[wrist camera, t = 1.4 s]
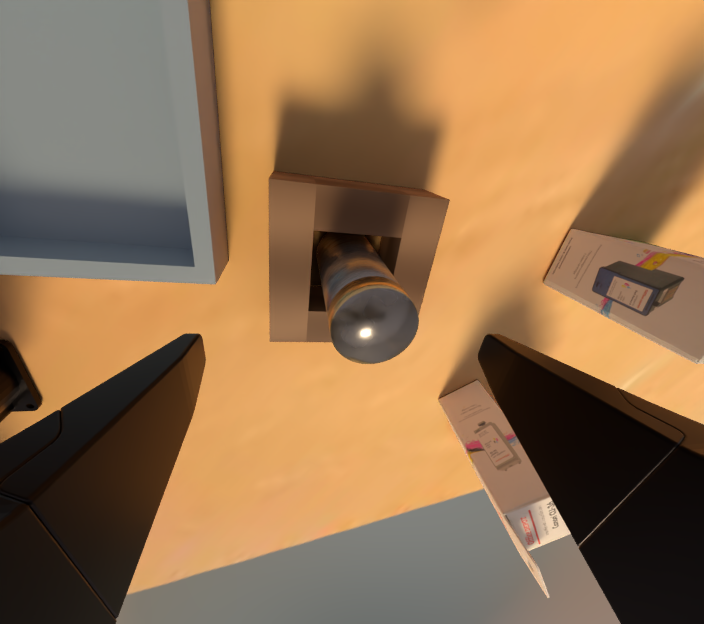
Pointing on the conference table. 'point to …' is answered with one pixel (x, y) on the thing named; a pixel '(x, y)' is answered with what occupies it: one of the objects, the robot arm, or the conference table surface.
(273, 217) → the socket block
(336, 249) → the steel pin
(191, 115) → the tray
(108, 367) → the conference table surface
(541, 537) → the ink cartridge box
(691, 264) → the ink box
